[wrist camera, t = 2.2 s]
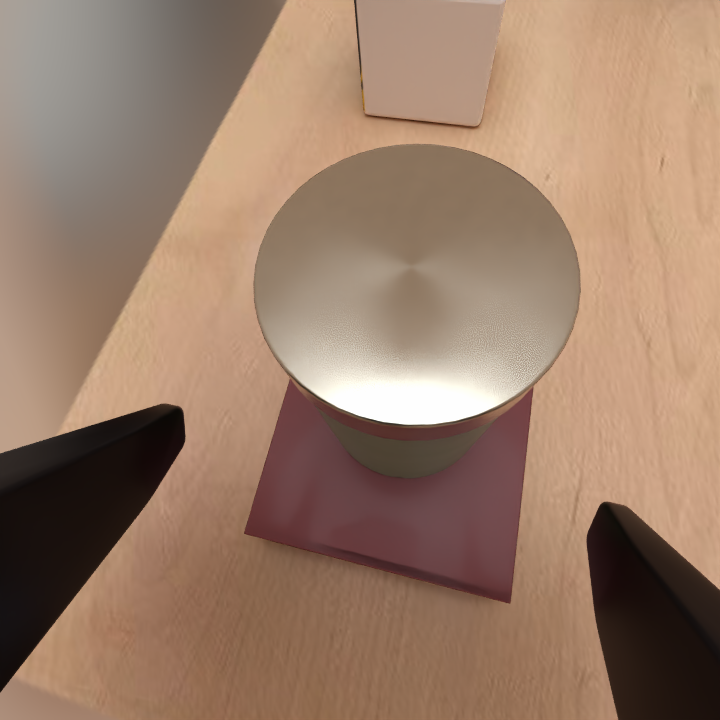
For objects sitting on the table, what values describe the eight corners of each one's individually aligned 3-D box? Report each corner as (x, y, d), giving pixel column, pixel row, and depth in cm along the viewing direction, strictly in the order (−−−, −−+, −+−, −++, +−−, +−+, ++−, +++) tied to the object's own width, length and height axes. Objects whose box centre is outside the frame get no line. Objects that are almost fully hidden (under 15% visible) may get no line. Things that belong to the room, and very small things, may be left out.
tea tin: (432, 516, 17) (476, 503, 7) (294, 422, 18) (188, 314, 9) (516, 375, 18) (637, 219, 9) (381, 301, 20) (367, 104, 11)
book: (495, 593, 18) (510, 603, 15) (262, 532, 19) (243, 533, 17) (529, 308, 22) (544, 282, 20) (335, 276, 24) (328, 249, 21)
